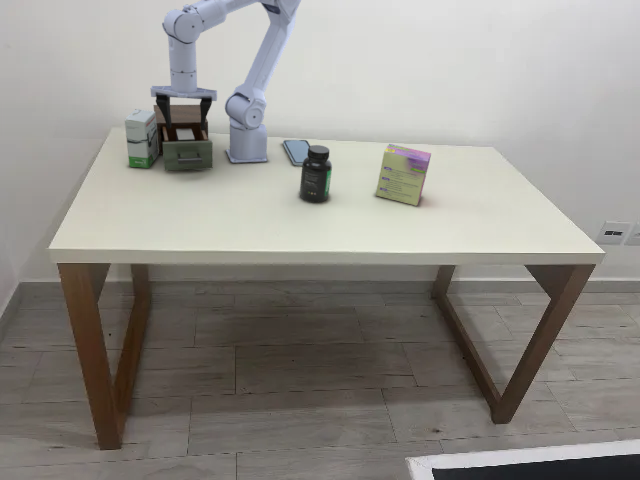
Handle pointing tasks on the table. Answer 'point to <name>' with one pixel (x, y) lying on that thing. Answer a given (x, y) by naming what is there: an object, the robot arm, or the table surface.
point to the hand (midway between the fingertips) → (186, 128)
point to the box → (403, 174)
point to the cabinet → (178, 119)
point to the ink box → (141, 138)
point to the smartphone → (297, 150)
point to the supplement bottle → (316, 174)
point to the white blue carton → (184, 135)
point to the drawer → (186, 149)
